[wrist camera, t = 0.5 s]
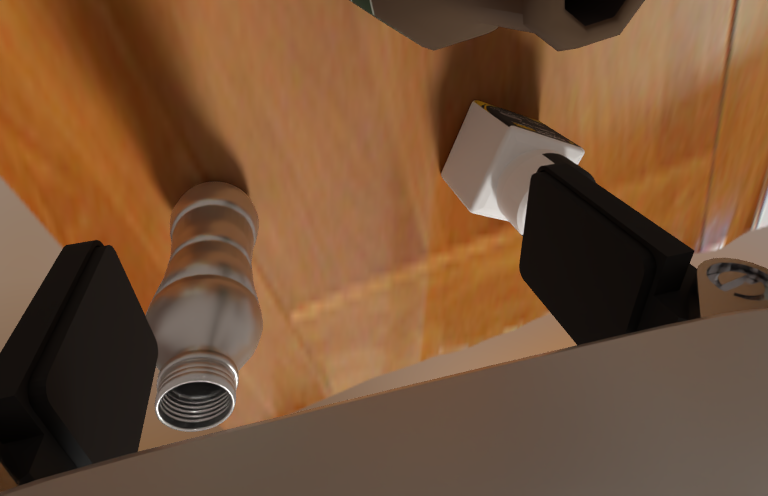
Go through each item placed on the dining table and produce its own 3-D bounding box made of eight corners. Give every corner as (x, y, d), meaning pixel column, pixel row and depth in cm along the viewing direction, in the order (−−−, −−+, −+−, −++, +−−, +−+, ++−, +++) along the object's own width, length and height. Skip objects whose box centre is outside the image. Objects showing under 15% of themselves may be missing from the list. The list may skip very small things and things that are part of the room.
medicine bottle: (540, 120, 41) (631, 177, 31) (503, 192, 44) (575, 263, 35) (472, 97, 38) (548, 151, 29) (438, 175, 42) (496, 248, 32)
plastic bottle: (160, 225, 38) (96, 439, 22) (196, 156, 36) (153, 338, 19) (235, 254, 41) (228, 460, 25) (273, 193, 39) (291, 376, 23)
